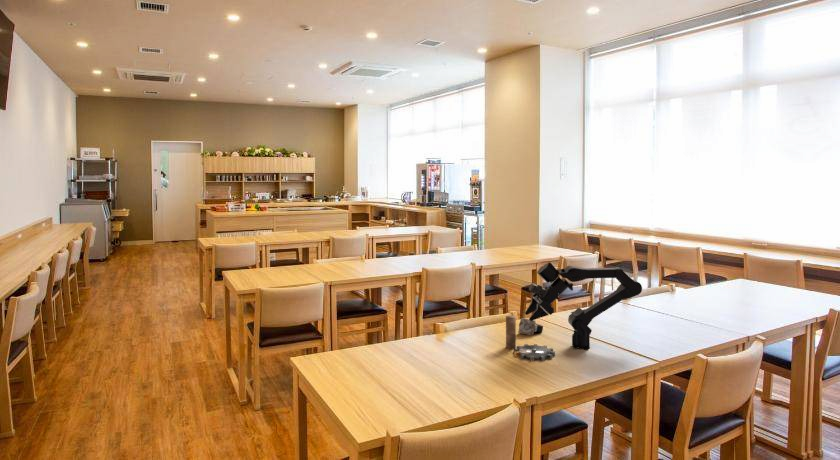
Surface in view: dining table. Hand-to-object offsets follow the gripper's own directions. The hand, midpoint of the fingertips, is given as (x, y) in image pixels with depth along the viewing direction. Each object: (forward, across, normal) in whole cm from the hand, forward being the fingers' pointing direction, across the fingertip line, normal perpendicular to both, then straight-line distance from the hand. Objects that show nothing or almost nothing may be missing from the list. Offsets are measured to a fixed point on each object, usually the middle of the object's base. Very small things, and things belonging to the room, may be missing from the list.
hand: (527, 317), depth 219 cm
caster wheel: (+6, -21, +13) cm, 25 cm away
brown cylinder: (+14, 0, +4) cm, 15 cm away
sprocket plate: (+8, +8, +10) cm, 15 cm away
